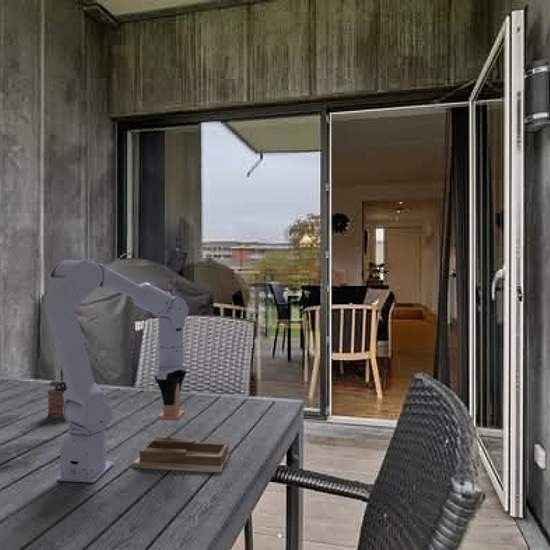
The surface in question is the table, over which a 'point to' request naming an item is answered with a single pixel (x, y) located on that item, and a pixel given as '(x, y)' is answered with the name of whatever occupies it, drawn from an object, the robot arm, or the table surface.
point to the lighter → (56, 399)
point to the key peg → (172, 409)
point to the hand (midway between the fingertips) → (171, 402)
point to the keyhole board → (182, 455)
